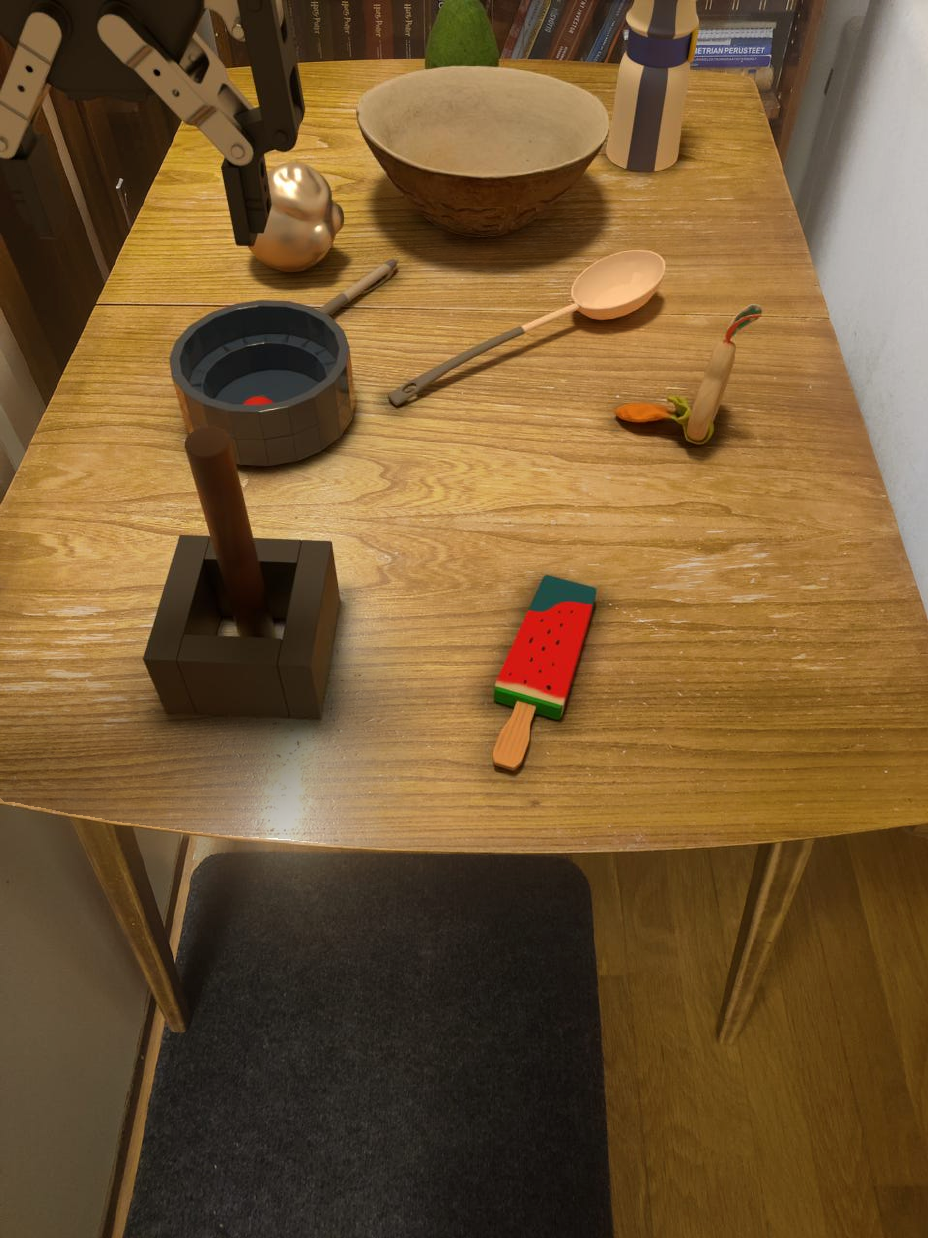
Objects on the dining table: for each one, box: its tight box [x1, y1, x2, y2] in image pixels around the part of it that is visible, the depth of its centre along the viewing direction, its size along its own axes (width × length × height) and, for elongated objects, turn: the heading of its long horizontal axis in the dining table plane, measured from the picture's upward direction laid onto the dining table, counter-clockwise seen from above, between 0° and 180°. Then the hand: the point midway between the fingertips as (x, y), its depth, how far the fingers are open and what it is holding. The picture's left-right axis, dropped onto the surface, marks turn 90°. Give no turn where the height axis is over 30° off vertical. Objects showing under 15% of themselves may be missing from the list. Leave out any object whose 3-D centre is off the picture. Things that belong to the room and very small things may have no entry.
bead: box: [243, 396, 274, 405], centre depth 78 cm, size 3×3×3 cm
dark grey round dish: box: [168, 299, 356, 467], centre depth 79 cm, size 14×14×6 cm
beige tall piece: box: [614, 303, 763, 445], centre depth 77 cm, size 8×8×12 cm
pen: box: [317, 258, 400, 317], centre depth 90 cm, size 1×14×1 cm, turn 143°
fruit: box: [424, 0, 500, 70], centre depth 109 cm, size 8×8×12 cm
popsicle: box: [492, 574, 597, 771], centre depth 65 cm, size 4×2×15 cm
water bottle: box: [605, 0, 700, 173], centre depth 98 cm, size 8×9×25 cm
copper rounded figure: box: [247, 161, 345, 273], centre depth 91 cm, size 9×10×10 cm
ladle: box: [387, 249, 666, 407], centre depth 87 cm, size 6×28×5 cm, turn 124°
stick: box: [184, 427, 278, 638], centre depth 60 cm, size 2×2×18 cm
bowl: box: [355, 66, 610, 238], centre depth 97 cm, size 24×24×10 cm
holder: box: [142, 534, 341, 721], centre depth 65 cm, size 10×10×6 cm
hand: (152, 232), depth 44 cm, fingers open, 8 cm apart
